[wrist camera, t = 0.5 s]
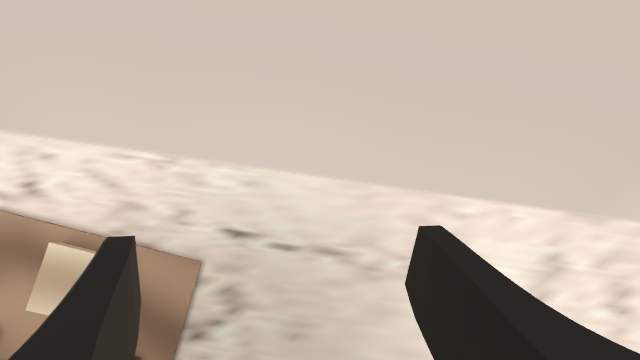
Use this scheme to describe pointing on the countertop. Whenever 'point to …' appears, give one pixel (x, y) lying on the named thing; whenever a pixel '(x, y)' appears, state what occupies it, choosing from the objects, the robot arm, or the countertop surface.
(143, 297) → the press board
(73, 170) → the countertop surface
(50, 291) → the block
